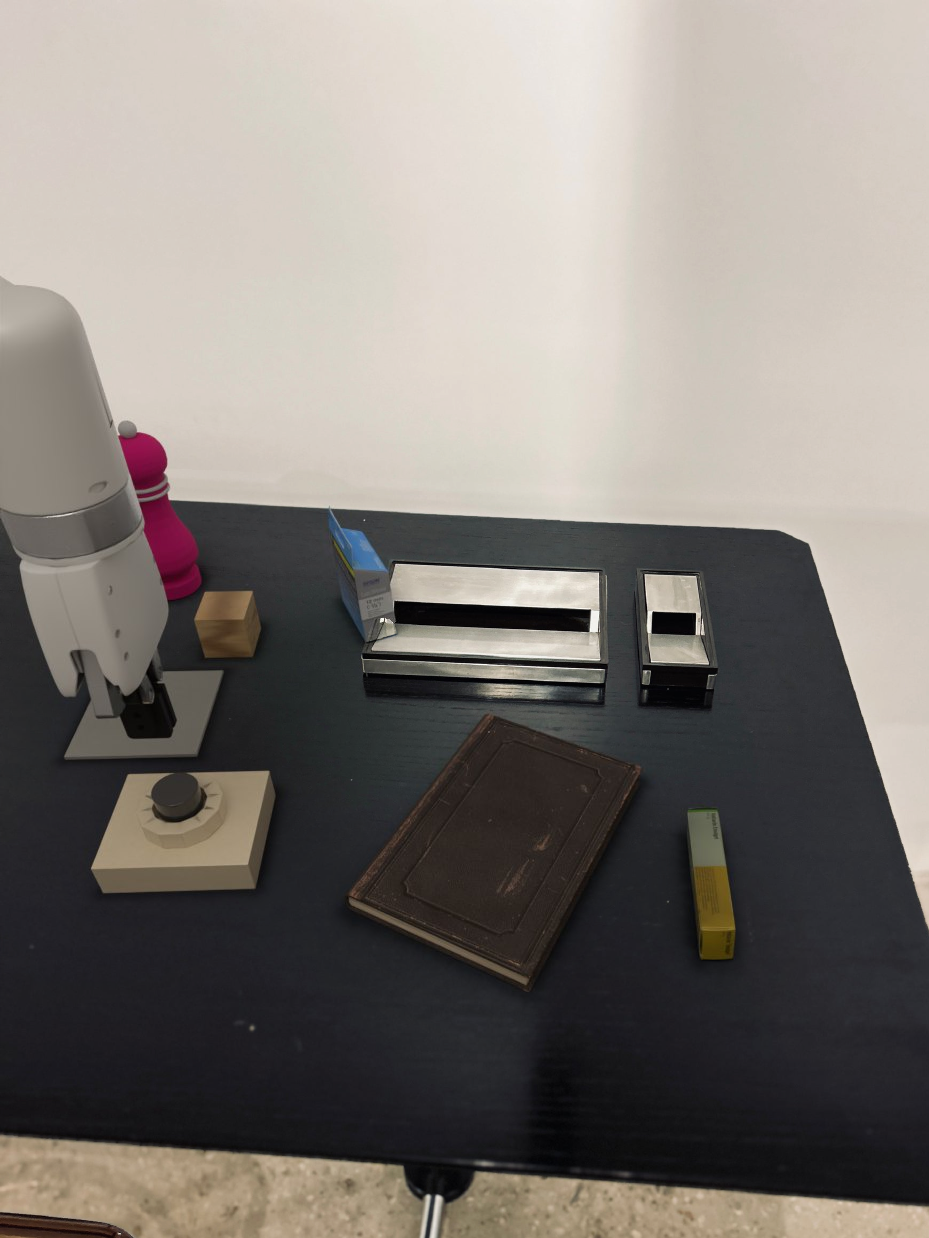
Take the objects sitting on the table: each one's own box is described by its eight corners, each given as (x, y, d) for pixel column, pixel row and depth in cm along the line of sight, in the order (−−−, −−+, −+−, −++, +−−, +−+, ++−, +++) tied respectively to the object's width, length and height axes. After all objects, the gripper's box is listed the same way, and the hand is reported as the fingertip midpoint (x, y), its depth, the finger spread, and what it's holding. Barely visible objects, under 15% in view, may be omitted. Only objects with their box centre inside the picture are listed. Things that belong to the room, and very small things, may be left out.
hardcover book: (639, 784, 79) (642, 766, 77) (529, 993, 63) (529, 976, 62) (483, 728, 84) (483, 710, 83) (346, 909, 69) (342, 891, 67)
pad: (65, 759, 80) (63, 756, 80) (105, 675, 89) (104, 672, 89) (197, 756, 81) (196, 753, 80) (224, 673, 90) (223, 670, 89)
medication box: (684, 837, 75) (685, 805, 72) (716, 836, 74) (719, 804, 72) (698, 960, 65) (700, 929, 63) (734, 961, 65) (738, 929, 62)
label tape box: (398, 635, 95) (389, 538, 87) (362, 645, 93) (349, 547, 85) (373, 593, 101) (361, 497, 92) (338, 601, 99) (324, 505, 91)
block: (204, 658, 91) (193, 619, 88) (215, 629, 95) (204, 591, 92) (253, 657, 92) (243, 619, 88) (261, 628, 95) (252, 590, 92)
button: (152, 823, 69) (145, 806, 68) (164, 789, 72) (157, 772, 70) (198, 822, 69) (192, 805, 68) (208, 788, 72) (202, 771, 70)
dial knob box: (103, 893, 69) (83, 854, 66) (138, 798, 77) (121, 759, 74) (255, 889, 70) (243, 849, 67) (275, 795, 77) (265, 755, 74)
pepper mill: (128, 598, 99) (71, 432, 86) (162, 564, 104) (113, 402, 91) (186, 608, 98) (137, 441, 85) (217, 573, 103) (176, 410, 90)
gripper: (53, 456, 58) (131, 667, 70) (-46, 584, 47) (67, 809, 59) (167, 454, 58) (225, 665, 70) (97, 581, 47) (180, 806, 59)
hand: (153, 730), depth 65 cm, fingers closed
